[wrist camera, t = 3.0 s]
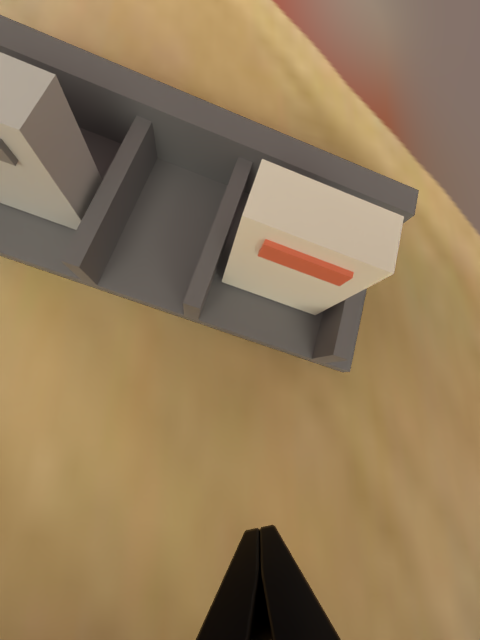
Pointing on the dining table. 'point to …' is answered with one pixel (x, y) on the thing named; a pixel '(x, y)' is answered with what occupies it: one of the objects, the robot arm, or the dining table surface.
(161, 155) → the grey compartment tray
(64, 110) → the white box
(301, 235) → the cream block
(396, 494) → the dining table surface
